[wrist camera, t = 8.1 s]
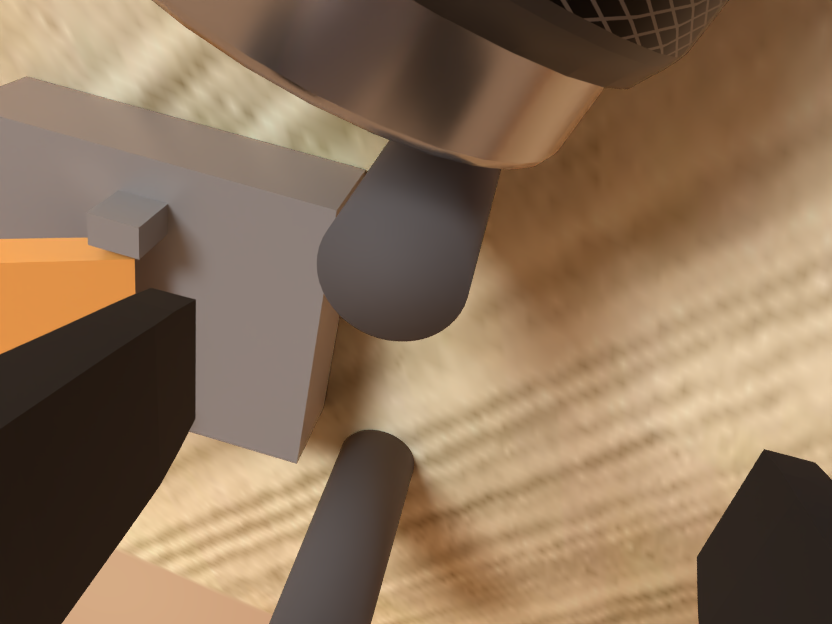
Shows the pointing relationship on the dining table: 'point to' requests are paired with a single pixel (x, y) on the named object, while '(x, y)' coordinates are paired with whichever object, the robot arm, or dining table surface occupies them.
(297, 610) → the cylinder
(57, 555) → the robot arm
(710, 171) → the dining table surface
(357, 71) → the muzzle brake
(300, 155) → the switch box
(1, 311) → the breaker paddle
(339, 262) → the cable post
